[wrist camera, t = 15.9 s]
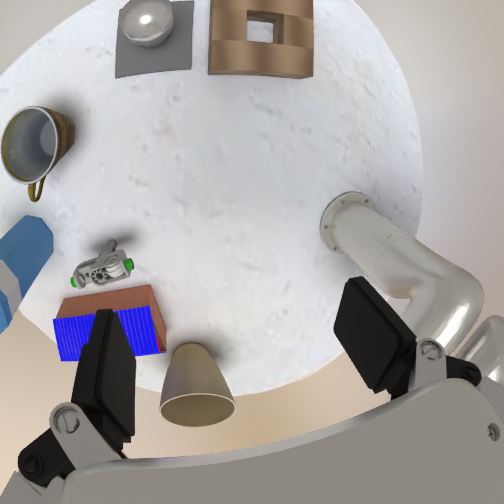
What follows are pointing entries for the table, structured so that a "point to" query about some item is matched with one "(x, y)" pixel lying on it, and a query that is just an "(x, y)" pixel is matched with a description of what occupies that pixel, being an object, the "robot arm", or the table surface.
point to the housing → (261, 53)
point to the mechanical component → (103, 268)
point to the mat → (164, 57)
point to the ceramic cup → (35, 145)
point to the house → (130, 314)
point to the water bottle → (21, 263)
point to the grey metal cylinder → (147, 22)
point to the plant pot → (195, 390)
